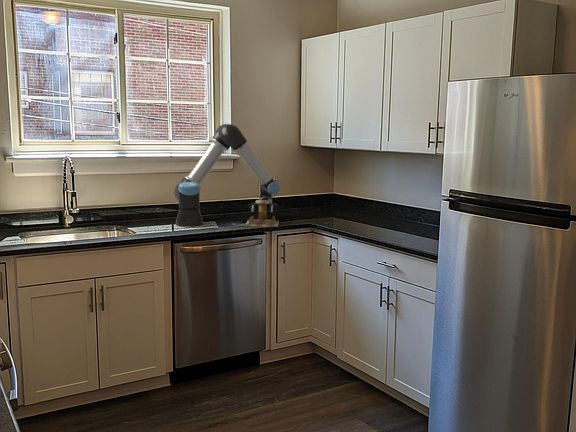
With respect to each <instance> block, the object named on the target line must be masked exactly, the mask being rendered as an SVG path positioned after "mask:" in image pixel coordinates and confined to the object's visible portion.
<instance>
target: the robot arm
mask: <svg viewBox="0 0 576 432" xmlns="http://www.w3.org/2000/svg"><path fill="white" fill-rule="evenodd" d="M230 148H231V149H232V150H233V151H234V152H237V154H238V155H239V156H240V158H241V159H242V160H243V162H244V163H245V164H246V165H247V167H248V169H250V172H252V174H253V175H254V176H255V178H257V180H258V181H259V200H269V201H270V203H269V204H266V212H267V211H268V210H270V212H271V213H273V211H275V210H277V211H278V210H279V205H278V204H276V202H274V203H273V196H275V195H278V194H279V192H280V191H281V185H280V184H279V183H278V182H277V181H275V179H274V178H273V177H272V175H271V174H270V172H269V170H267V169H266V167H265V166H264V164H263V163H262V162H261V161H260V159H259V158H258V156H257V155H256V153H255V152H254V151H253V149H252V148H251V147H250V145H249V144H248V139H246V137H245V136H244V134H243V133H242V131H241V129H240V128H239V127H237V125H235V124H229V123H223V124H221V125H219V126H218V127H217V129H216V130H215V133H214V135H213V136H212V138H211V143H210V145H209V146H208V148H207V149H206V150H205V152H203V154H202V156H201V157H200V159H199V160H198V162H197V163H196V164H195V166H194V167H193V169H191V172H189V174H188V175H185V176H184V177H182V179H181V180H180V182H178V183H177V184H176V185H175V187H174V192H173V193H174V196H175V198H176V200H177V201H178V213H177V216H176V219H175V226H181V227H196V226H202V225H204V219H203V217H202V216H203V215H202V214H201V211H200V192H201V191H200V190H201V188H202V187H201V185H202V182H203V181H204V180H205V179H206V176H207V175H209V173H210V172H211V170H212V169H213V168H214V166H215V164H216V163H217V162H218V160H219V159H220V157H221V156H222V154H224V152H226V151H227V152H228V151H229V149H230ZM256 209H258V210H259V204H257V203H256V202H252V203H249V204H247V210H250V212H252V213H253V212H254V210H256Z"/></svg>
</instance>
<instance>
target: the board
mask: <svg viewBox="0 0 576 432" xmlns="http://www.w3.org/2000/svg"><path fill="white" fill-rule="evenodd" d="M279 224H280V220H276V215H275V216H274V215H273V216H272V217H271V219H267V220H257V219H255V216H254V215H251V216H250V217H249V219H248V220H247V221H246V223H245V227H257V228H260V227H264V228H265V227H266V228H278V227H279Z"/></svg>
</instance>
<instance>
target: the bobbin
mask: <svg viewBox="0 0 576 432" xmlns="http://www.w3.org/2000/svg"><path fill="white" fill-rule="evenodd" d="M269 203H270V201H269V200H260V199H257V200H255V204H259V209H258V219H256V220H268V219H267V211H266V204H269Z"/></svg>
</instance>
